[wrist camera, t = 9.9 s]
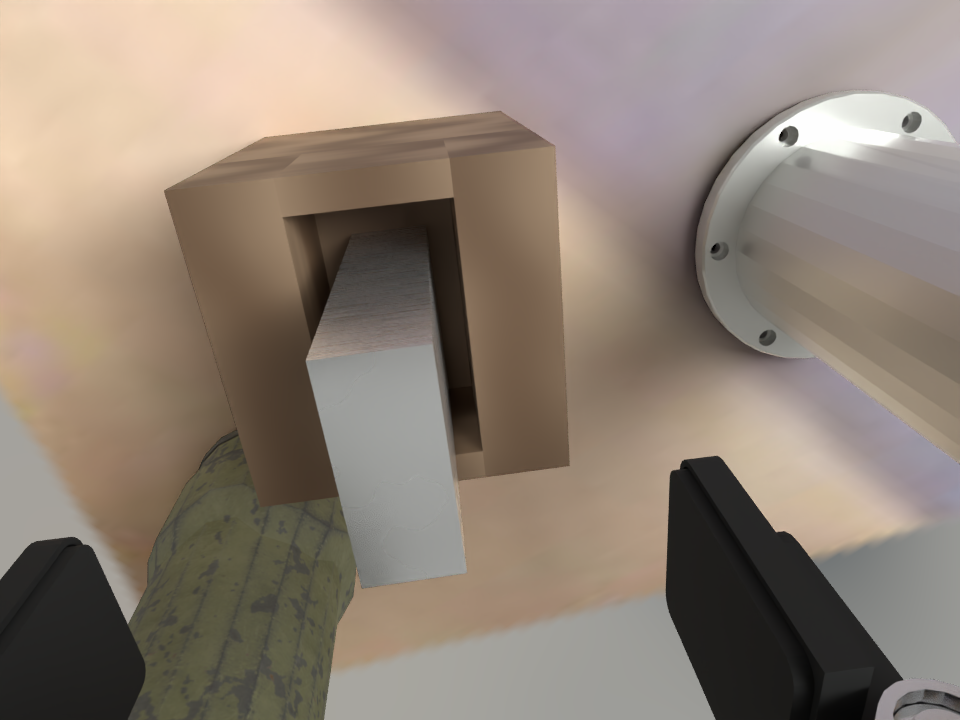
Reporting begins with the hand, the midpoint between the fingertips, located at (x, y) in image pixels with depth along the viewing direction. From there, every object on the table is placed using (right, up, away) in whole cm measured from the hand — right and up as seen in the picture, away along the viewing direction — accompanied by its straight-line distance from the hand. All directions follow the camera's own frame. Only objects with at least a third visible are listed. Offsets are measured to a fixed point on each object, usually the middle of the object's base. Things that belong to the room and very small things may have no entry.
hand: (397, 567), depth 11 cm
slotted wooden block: (-2, +9, +19) cm, 21 cm away
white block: (-1, +5, +12) cm, 14 cm away
